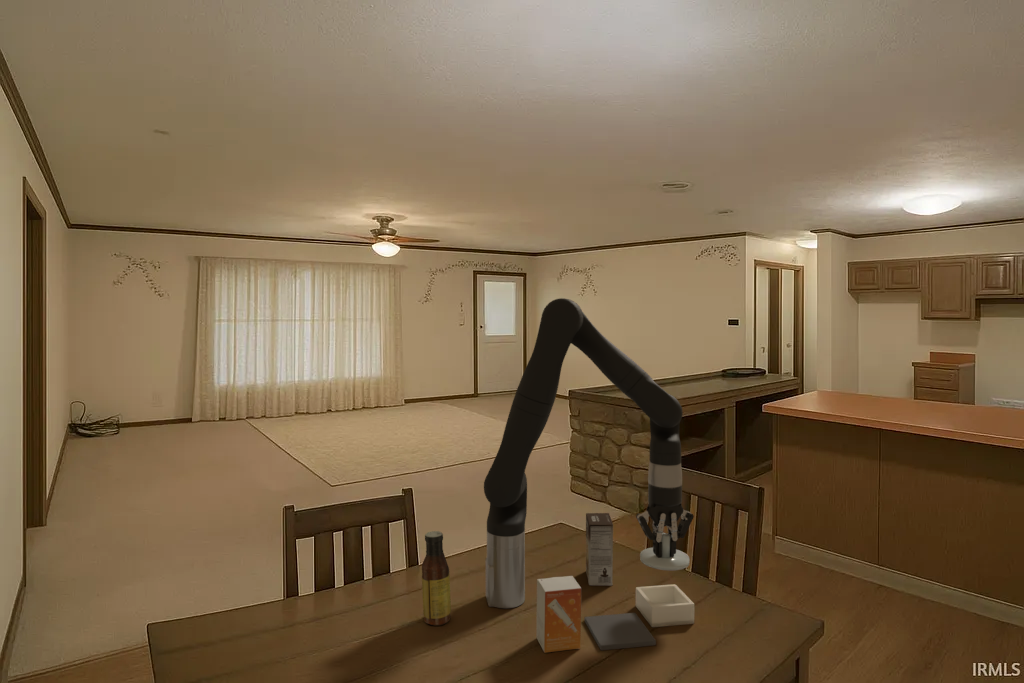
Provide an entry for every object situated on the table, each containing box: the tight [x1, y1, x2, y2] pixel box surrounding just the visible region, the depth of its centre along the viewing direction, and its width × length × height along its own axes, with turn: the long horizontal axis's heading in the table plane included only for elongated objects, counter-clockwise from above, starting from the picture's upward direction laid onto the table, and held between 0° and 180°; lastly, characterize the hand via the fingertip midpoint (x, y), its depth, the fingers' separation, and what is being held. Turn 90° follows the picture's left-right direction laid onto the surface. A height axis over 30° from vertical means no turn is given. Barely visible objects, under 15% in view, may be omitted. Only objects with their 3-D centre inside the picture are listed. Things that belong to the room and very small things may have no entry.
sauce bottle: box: [421, 530, 452, 626], centre depth 136 cm, size 7×6×20 cm
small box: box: [536, 575, 582, 654], centre depth 127 cm, size 8×6×13 cm
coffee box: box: [585, 512, 614, 586], centre depth 158 cm, size 9×6×16 cm
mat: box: [584, 612, 657, 651], centre depth 131 cm, size 12×12×1 cm
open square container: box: [635, 584, 695, 628], centre depth 139 cm, size 10×10×4 cm
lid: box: [639, 532, 690, 571], centre depth 138 cm, size 11×11×6 cm
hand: (664, 555), depth 139 cm, fingers closed on lid, 2 cm apart
